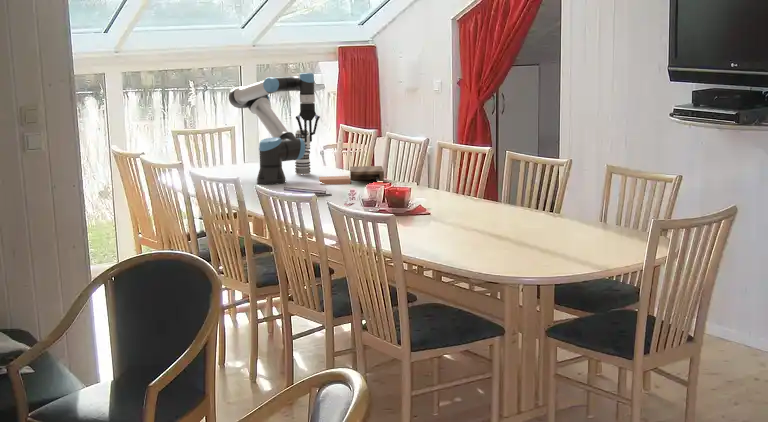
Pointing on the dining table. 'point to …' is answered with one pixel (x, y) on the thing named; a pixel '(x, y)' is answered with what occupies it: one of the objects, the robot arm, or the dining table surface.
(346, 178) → the terracotta tile
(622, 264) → the dining table surface
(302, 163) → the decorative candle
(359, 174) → the walnut shelf
